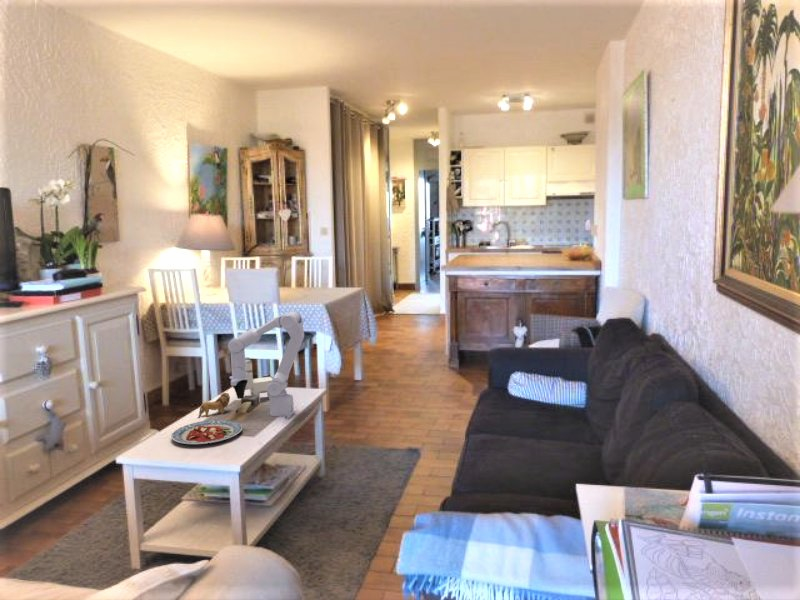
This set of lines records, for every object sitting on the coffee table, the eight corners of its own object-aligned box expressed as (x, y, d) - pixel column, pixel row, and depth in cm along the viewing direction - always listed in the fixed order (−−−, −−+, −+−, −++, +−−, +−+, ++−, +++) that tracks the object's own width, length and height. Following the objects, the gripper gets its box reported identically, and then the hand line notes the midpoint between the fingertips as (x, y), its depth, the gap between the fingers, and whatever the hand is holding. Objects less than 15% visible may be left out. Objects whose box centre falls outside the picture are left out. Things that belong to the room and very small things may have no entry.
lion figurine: (227, 411, 265) (226, 390, 264) (233, 413, 262) (232, 393, 260) (194, 419, 256) (193, 398, 255) (200, 422, 252) (198, 400, 251)
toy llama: (282, 400, 278) (280, 357, 275) (243, 407, 270) (240, 362, 268) (278, 396, 284) (275, 354, 282) (239, 402, 277) (236, 358, 274)
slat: (254, 404, 270) (254, 399, 270) (245, 413, 258) (244, 407, 258) (248, 404, 271) (247, 399, 270) (238, 413, 259) (237, 407, 258)
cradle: (262, 405, 272) (262, 395, 271) (244, 422, 250) (244, 411, 249) (242, 405, 273) (242, 395, 272) (223, 422, 251) (222, 411, 250)
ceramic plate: (158, 448, 224) (157, 440, 224) (192, 424, 250) (191, 417, 249) (225, 450, 221) (224, 442, 220) (252, 425, 246) (252, 418, 245)
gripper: (235, 362, 264) (237, 393, 265) (222, 370, 249) (224, 403, 251) (251, 362, 263) (253, 393, 265) (239, 370, 249) (241, 403, 250)
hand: (240, 398), depth 258 cm, fingers closed
